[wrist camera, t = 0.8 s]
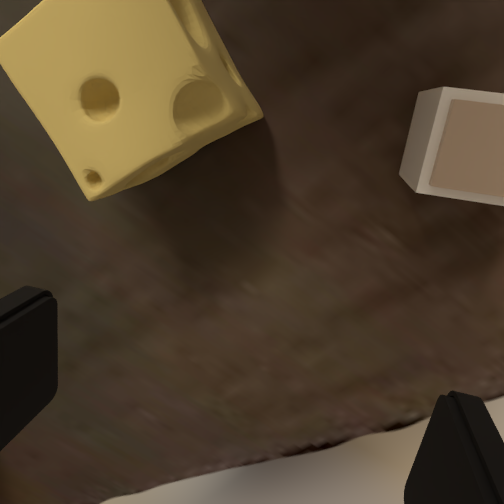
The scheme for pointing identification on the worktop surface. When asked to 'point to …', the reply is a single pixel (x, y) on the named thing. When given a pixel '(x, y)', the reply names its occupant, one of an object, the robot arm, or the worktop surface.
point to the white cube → (456, 145)
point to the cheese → (126, 85)
